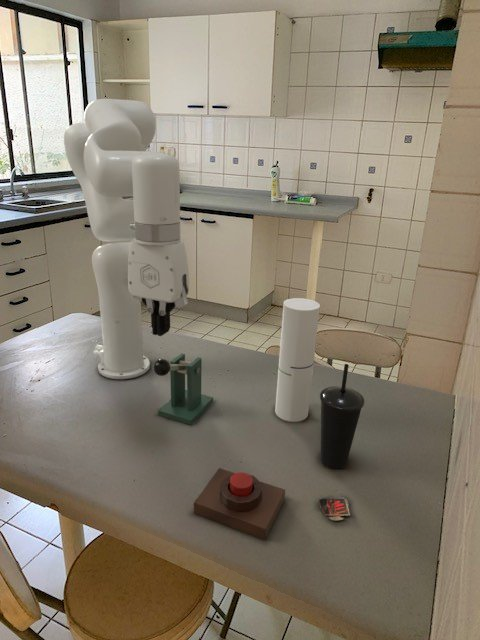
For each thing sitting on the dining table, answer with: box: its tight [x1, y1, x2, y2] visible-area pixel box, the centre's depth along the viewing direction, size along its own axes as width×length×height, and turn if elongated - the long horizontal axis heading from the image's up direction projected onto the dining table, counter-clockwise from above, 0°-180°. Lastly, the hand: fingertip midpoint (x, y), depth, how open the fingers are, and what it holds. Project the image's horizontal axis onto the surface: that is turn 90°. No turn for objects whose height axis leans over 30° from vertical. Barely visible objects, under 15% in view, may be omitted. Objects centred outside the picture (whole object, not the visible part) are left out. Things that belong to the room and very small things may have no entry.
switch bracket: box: [157, 352, 214, 426], centre depth 98 cm, size 10×8×12 cm
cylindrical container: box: [274, 297, 321, 423], centre depth 96 cm, size 7×7×25 cm
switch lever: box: [152, 358, 192, 377], centre depth 92 cm, size 13×3×3 cm, turn 156°
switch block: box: [193, 467, 286, 541], centre depth 74 cm, size 12×9×4 cm
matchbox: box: [318, 497, 351, 522], centre depth 74 cm, size 5×5×1 cm
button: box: [230, 472, 253, 497], centre depth 73 cm, size 4×4×2 cm
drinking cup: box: [319, 363, 366, 470], centre depth 82 cm, size 8×8×20 cm
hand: (161, 332), depth 84 cm, fingers closed
